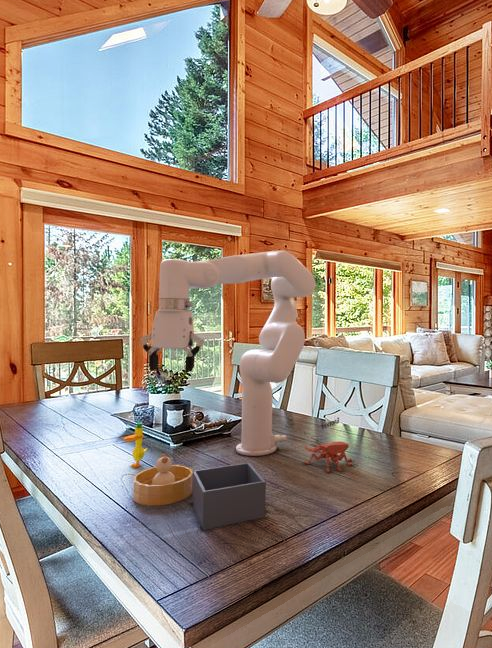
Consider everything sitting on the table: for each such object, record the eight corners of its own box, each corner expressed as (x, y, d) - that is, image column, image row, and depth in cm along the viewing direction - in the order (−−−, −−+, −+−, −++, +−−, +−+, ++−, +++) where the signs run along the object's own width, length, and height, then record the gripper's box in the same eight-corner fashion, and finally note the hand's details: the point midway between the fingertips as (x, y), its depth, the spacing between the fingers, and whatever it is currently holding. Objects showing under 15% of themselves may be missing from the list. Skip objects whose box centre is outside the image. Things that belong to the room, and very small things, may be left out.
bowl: (187, 481, 116) (188, 462, 116) (196, 501, 104) (197, 480, 104) (131, 490, 110) (132, 469, 110) (134, 512, 98) (134, 489, 98)
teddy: (173, 487, 110) (174, 450, 110) (176, 495, 106) (177, 457, 106) (150, 491, 108) (151, 453, 108) (152, 499, 103) (153, 460, 103)
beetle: (359, 462, 131) (360, 419, 132) (335, 475, 121) (336, 428, 121) (318, 452, 140) (319, 411, 140) (293, 463, 130) (293, 419, 130)
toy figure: (125, 471, 122) (127, 426, 122) (120, 467, 125) (121, 424, 125) (150, 464, 127) (151, 422, 127) (144, 461, 130) (145, 420, 130)
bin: (248, 493, 108) (249, 462, 109) (265, 517, 97) (265, 481, 97) (191, 504, 103) (192, 470, 103) (202, 530, 91) (203, 492, 91)
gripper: (210, 306, 122) (208, 370, 121) (149, 305, 124) (147, 367, 123) (199, 306, 114) (197, 373, 114) (135, 305, 116) (132, 371, 115)
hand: (171, 370), depth 118 cm, fingers open, 9 cm apart
